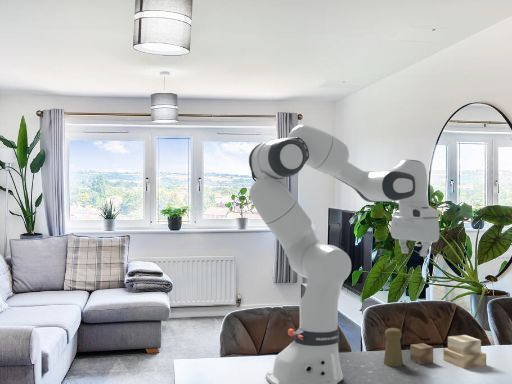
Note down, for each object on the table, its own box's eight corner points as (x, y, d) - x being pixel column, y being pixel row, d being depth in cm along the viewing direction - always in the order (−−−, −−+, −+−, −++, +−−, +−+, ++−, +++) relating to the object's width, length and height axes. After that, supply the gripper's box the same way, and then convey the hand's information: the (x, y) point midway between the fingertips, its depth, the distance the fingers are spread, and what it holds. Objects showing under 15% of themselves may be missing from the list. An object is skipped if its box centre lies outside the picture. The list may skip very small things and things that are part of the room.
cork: (405, 366, 171) (405, 331, 171) (385, 366, 171) (385, 331, 171) (400, 360, 177) (400, 326, 177) (381, 360, 177) (381, 326, 177)
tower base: (463, 369, 169) (463, 356, 169) (443, 361, 178) (443, 348, 178) (486, 366, 172) (486, 353, 172) (465, 358, 181) (465, 346, 181)
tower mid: (462, 355, 171) (462, 342, 171) (447, 349, 177) (447, 336, 177) (481, 352, 173) (480, 340, 173) (465, 347, 180) (465, 334, 180)
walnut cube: (420, 364, 173) (420, 348, 173) (410, 360, 178) (410, 344, 178) (433, 362, 175) (433, 347, 175) (423, 358, 179) (423, 343, 180)
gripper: (385, 210, 183) (386, 252, 183) (425, 212, 164) (426, 258, 164) (401, 210, 185) (402, 251, 185) (442, 211, 166) (443, 257, 166)
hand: (414, 254), depth 174 cm, fingers open, 8 cm apart
